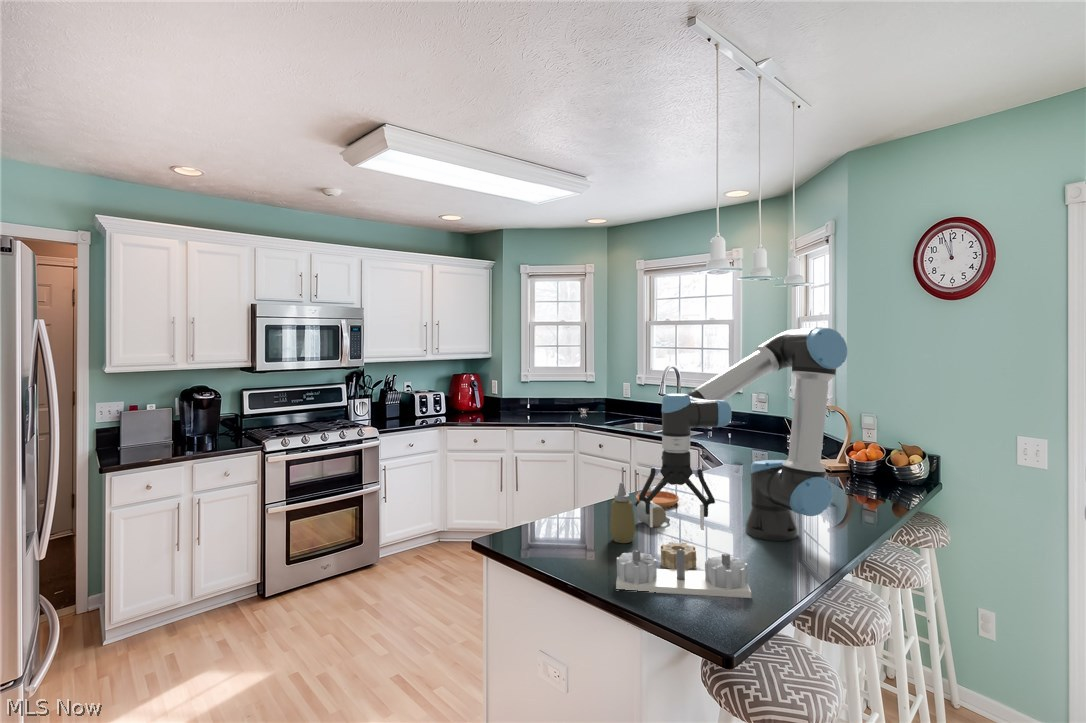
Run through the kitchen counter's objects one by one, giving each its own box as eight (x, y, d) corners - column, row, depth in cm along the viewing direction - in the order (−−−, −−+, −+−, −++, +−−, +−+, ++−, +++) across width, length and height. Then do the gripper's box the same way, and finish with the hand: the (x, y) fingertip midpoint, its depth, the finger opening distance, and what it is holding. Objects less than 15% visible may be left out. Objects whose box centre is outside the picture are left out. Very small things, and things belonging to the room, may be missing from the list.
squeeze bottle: (619, 547, 168) (618, 487, 168) (604, 539, 175) (603, 482, 175) (641, 542, 172) (640, 484, 171) (625, 534, 179) (624, 478, 179)
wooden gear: (694, 558, 158) (694, 542, 157) (697, 572, 148) (697, 555, 148) (660, 557, 159) (660, 541, 159) (661, 570, 150) (661, 553, 150)
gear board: (743, 578, 144) (743, 544, 143) (751, 598, 133) (750, 560, 132) (618, 572, 150) (617, 539, 149) (616, 590, 139) (615, 554, 139)
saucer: (680, 510, 204) (680, 502, 203) (635, 509, 206) (635, 501, 206) (677, 498, 219) (677, 490, 219) (636, 497, 222) (636, 490, 222)
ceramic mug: (649, 529, 183) (649, 506, 183) (635, 523, 190) (635, 500, 190) (675, 525, 187) (675, 502, 187) (660, 518, 195) (660, 496, 194)
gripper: (629, 451, 152) (630, 529, 152) (725, 454, 147) (725, 534, 147) (630, 446, 159) (631, 520, 160) (721, 448, 154) (721, 525, 155)
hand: (676, 527), depth 153 cm, fingers open, 13 cm apart
